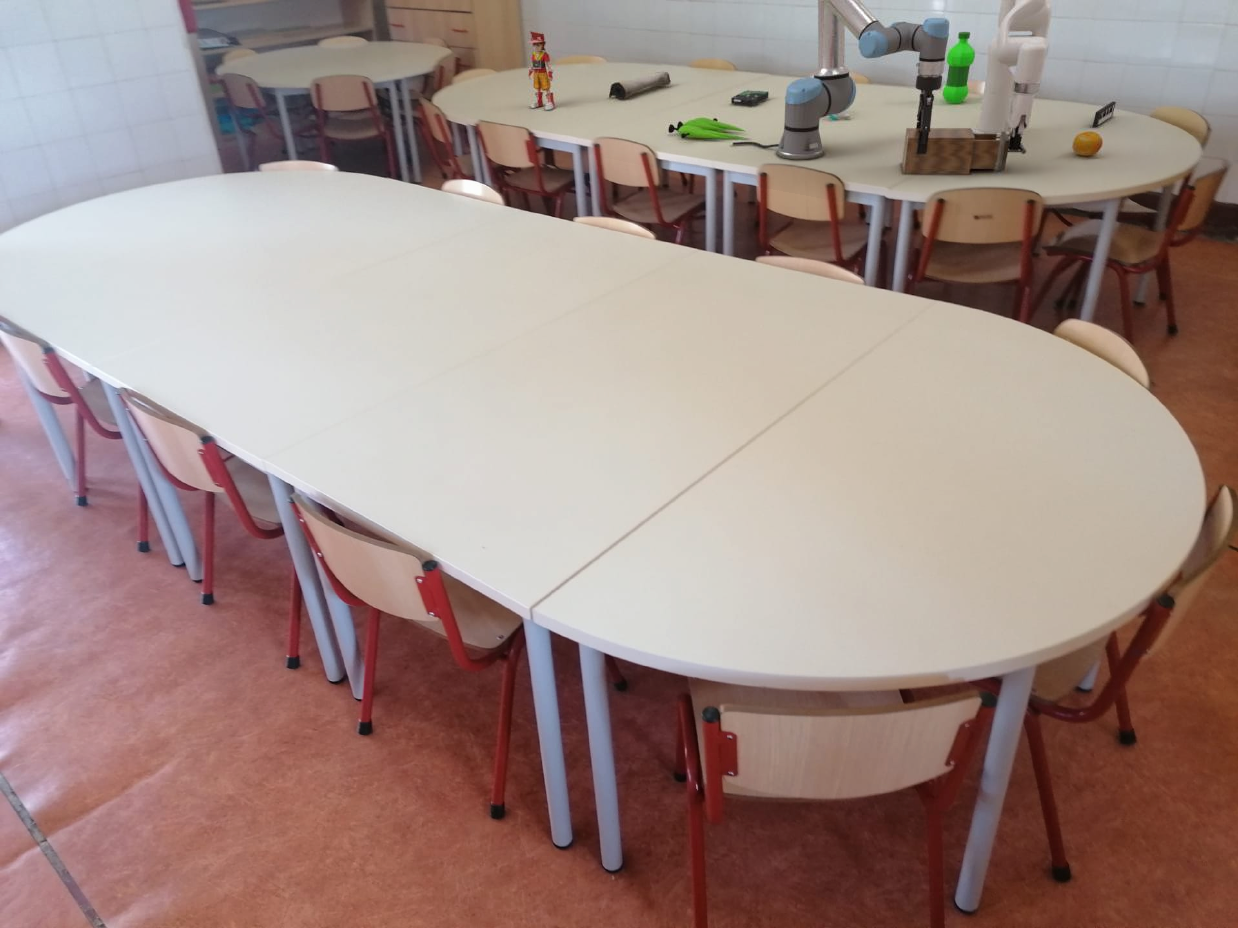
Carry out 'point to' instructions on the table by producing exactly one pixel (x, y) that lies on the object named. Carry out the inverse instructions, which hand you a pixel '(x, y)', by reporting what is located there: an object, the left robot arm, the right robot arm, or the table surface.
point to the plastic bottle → (958, 69)
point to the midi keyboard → (1104, 113)
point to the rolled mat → (638, 84)
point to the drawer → (991, 151)
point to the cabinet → (939, 151)
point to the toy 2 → (704, 129)
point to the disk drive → (749, 98)
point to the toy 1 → (541, 71)
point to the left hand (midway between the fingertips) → (920, 148)
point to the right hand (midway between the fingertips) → (1013, 149)
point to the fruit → (1087, 143)
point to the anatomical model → (839, 116)
